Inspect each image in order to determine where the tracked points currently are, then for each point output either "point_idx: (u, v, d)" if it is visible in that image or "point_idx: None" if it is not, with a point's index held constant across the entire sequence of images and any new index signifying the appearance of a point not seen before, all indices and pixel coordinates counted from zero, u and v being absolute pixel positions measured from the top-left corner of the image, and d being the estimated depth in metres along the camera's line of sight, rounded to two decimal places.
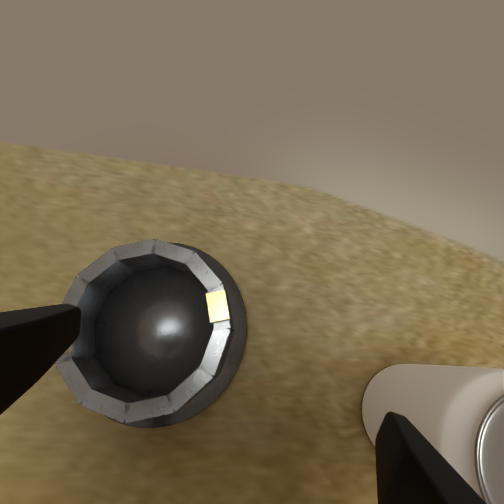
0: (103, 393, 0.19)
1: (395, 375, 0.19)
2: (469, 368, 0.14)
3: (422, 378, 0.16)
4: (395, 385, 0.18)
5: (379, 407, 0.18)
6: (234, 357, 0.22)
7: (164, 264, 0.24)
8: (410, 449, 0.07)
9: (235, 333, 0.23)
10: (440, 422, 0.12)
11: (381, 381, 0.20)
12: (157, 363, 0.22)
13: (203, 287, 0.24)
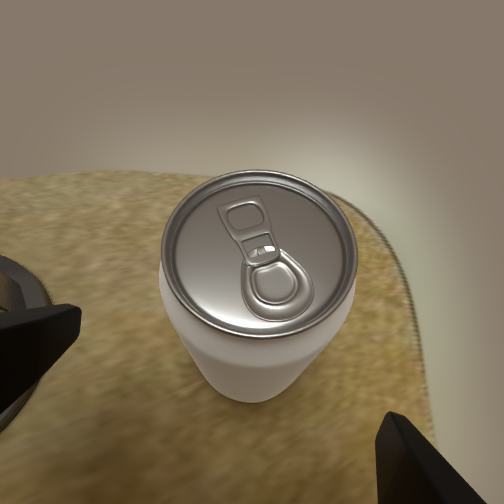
0: None
1: None
2: None
3: None
4: None
5: None
6: None
7: None
8: (410, 449, 0.07)
9: None
10: (161, 261, 0.11)
11: None
12: None
13: None
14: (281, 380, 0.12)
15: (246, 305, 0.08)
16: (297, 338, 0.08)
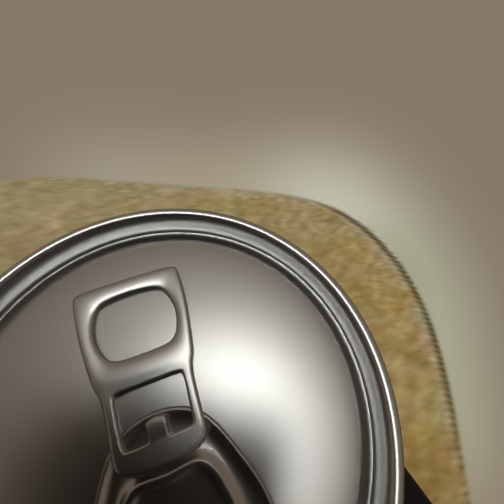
0: None
1: None
2: None
3: None
4: None
5: None
6: None
7: None
8: None
9: None
10: None
11: None
12: None
13: None
14: None
15: None
16: None
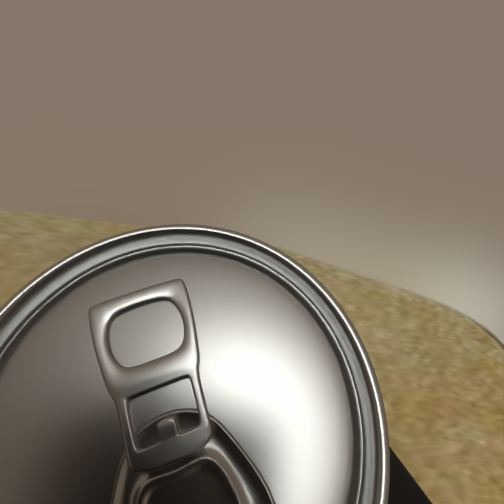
0: None
1: None
2: None
3: None
4: None
5: None
6: None
7: None
8: None
9: None
10: None
11: None
12: None
13: None
14: None
15: None
16: None
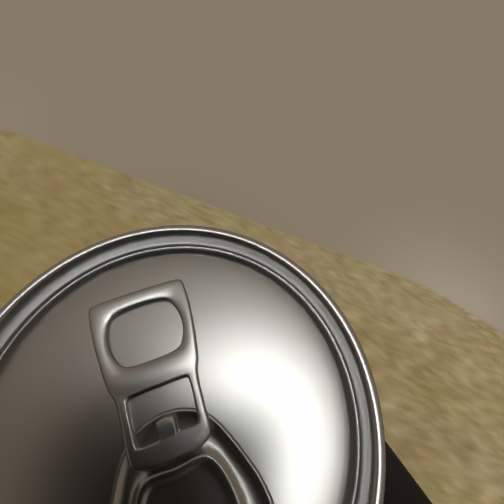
0: None
1: None
2: None
3: None
4: None
5: None
6: None
7: None
8: None
9: None
10: None
11: None
12: None
13: None
14: None
15: None
16: None
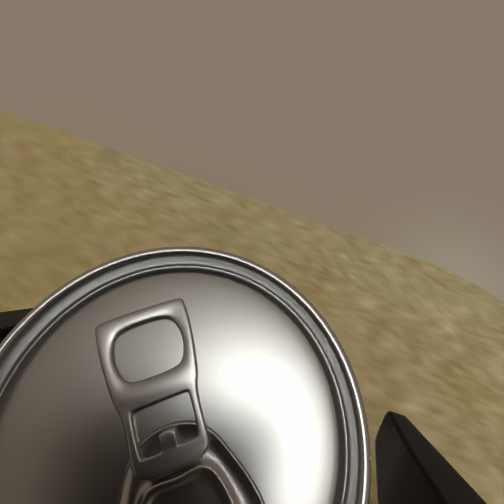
0: None
1: None
2: None
3: None
4: None
5: None
6: None
7: None
8: (410, 449, 0.07)
9: None
10: None
11: None
12: None
13: None
14: None
15: None
16: None
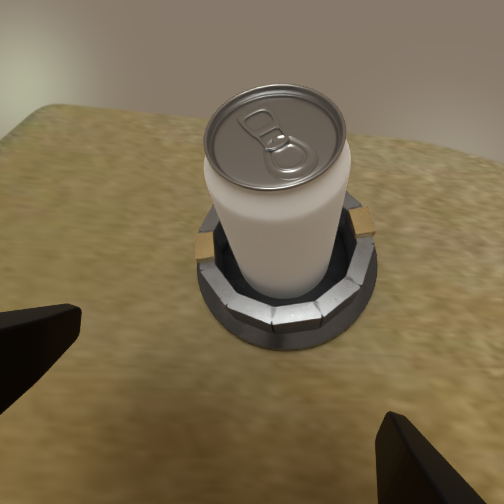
0: (247, 298, 0.19)
1: None
2: None
3: None
4: None
5: None
6: (366, 286, 0.22)
7: None
8: (410, 449, 0.07)
9: None
10: None
11: None
12: None
13: None
14: (309, 247, 0.15)
15: (271, 174, 0.12)
16: (311, 189, 0.12)
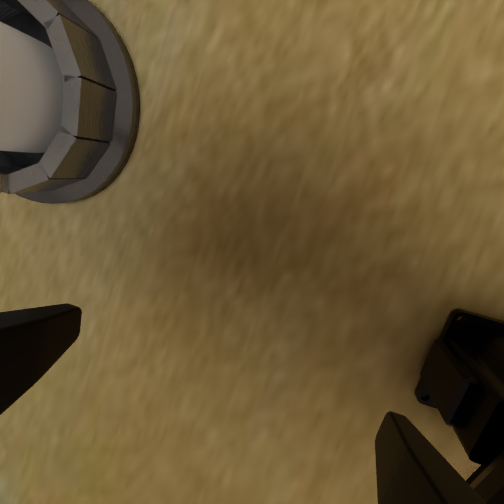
0: (47, 152, 0.17)
1: None
2: None
3: None
4: None
5: None
6: (87, 13, 0.18)
7: None
8: (410, 449, 0.07)
9: (63, 0, 0.18)
10: None
11: None
12: None
13: (6, 23, 0.19)
14: None
15: None
16: None
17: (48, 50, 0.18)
